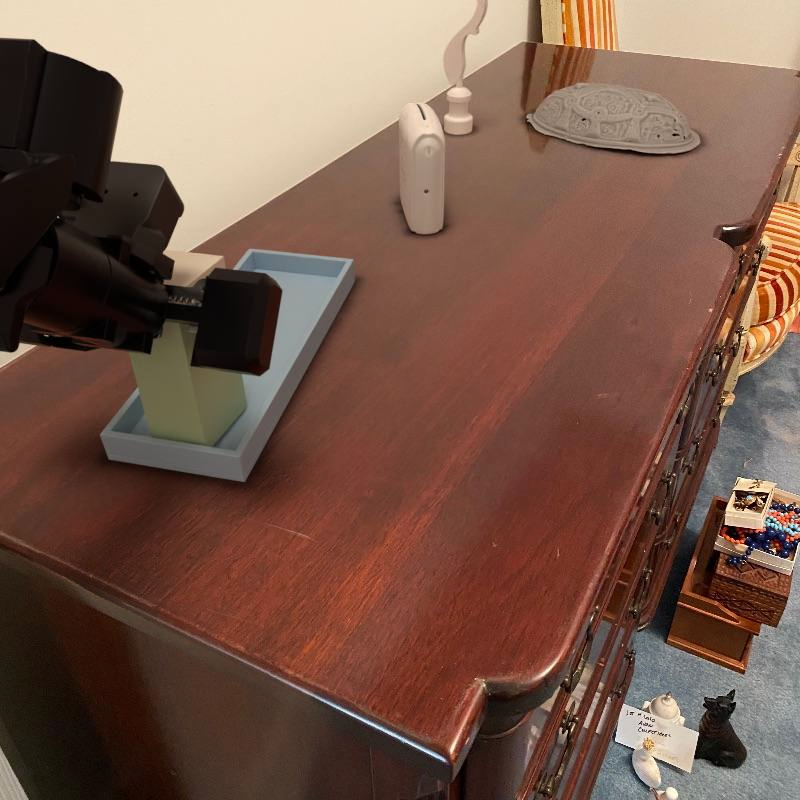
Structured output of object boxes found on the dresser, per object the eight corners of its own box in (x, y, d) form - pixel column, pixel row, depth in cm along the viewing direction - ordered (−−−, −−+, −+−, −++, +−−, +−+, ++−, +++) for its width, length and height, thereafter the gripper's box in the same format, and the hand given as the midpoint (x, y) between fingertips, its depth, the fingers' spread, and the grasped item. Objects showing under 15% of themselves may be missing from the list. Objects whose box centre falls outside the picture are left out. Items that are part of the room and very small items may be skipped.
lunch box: (207, 454, 56) (173, 296, 49) (150, 442, 58) (108, 287, 51) (249, 405, 62) (223, 255, 54) (195, 396, 63) (163, 248, 56)
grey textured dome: (677, 161, 98) (688, 106, 94) (506, 133, 110) (510, 83, 106) (713, 136, 108) (724, 86, 105) (554, 113, 121) (558, 67, 117)
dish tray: (244, 482, 56) (239, 457, 54) (108, 459, 58) (99, 434, 56) (355, 281, 78) (353, 259, 76) (253, 270, 80) (249, 248, 78)
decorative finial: (436, 131, 110) (439, -71, 94) (450, 122, 112) (454, -76, 96) (473, 138, 107) (482, -68, 91) (485, 128, 110) (497, -73, 94)
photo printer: (447, 234, 85) (450, 123, 77) (409, 237, 85) (408, 126, 77) (431, 195, 93) (433, 91, 85) (397, 197, 93) (395, 93, 85)
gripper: (248, 150, 40) (328, 240, 56) (-54, 127, 44) (99, 217, 59) (212, 357, 39) (303, 391, 55) (-93, 315, 43) (73, 358, 58)
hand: (192, 333), depth 57 cm, fingers open, 6 cm apart
